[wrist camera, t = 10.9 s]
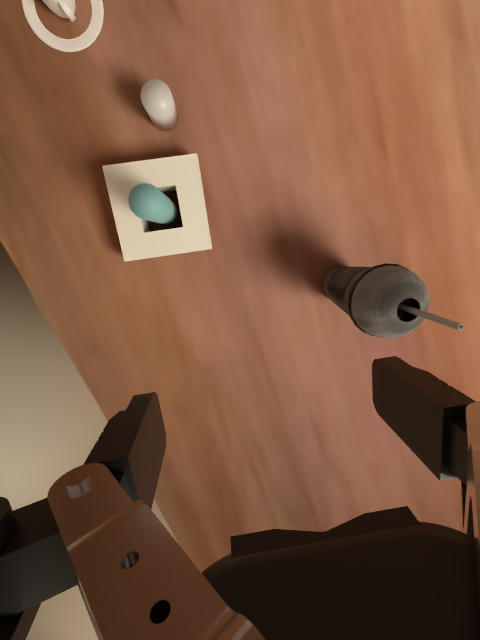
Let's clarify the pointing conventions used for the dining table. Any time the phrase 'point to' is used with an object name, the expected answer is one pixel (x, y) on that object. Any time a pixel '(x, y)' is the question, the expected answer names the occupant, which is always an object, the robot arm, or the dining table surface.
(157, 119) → the short pin
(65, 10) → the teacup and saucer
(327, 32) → the dining table surface
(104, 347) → the dining table surface
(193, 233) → the hole block
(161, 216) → the long pin
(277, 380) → the dining table surface
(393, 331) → the beverage cup
